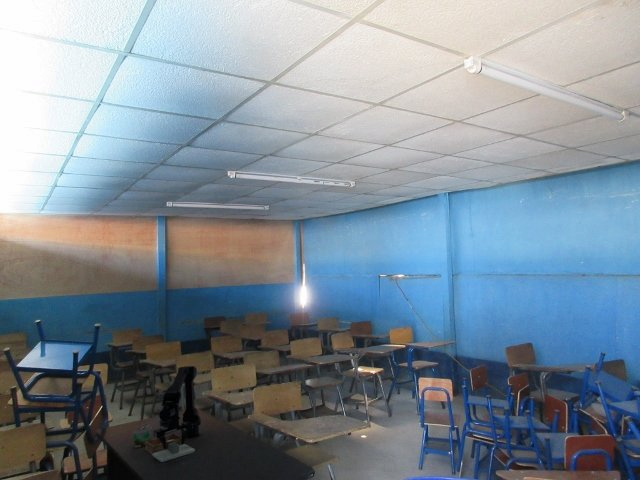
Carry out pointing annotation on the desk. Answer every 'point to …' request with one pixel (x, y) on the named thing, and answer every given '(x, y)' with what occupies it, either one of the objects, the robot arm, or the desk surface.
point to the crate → (156, 444)
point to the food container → (142, 435)
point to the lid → (173, 452)
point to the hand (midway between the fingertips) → (173, 447)
